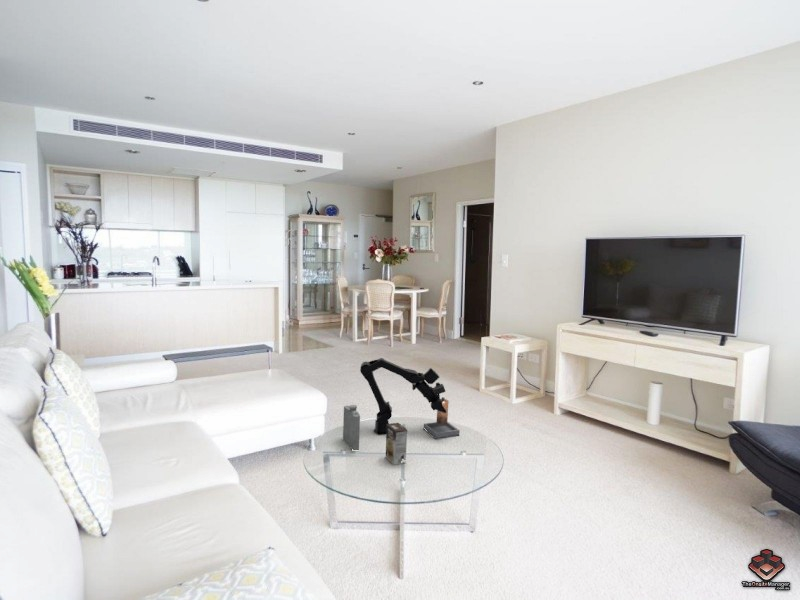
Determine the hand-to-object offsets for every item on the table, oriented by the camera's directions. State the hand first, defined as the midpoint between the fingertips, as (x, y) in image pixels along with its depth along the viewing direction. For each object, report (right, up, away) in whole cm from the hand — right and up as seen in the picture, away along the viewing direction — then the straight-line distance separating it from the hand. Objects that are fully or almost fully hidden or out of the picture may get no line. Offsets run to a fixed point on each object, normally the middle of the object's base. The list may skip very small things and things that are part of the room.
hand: (445, 410), depth 248 cm
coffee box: (-26, -16, -32) cm, 44 cm away
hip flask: (-48, -13, -18) cm, 53 cm away
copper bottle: (-2, -7, +1) cm, 7 cm away
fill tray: (-2, -12, +2) cm, 12 cm away
